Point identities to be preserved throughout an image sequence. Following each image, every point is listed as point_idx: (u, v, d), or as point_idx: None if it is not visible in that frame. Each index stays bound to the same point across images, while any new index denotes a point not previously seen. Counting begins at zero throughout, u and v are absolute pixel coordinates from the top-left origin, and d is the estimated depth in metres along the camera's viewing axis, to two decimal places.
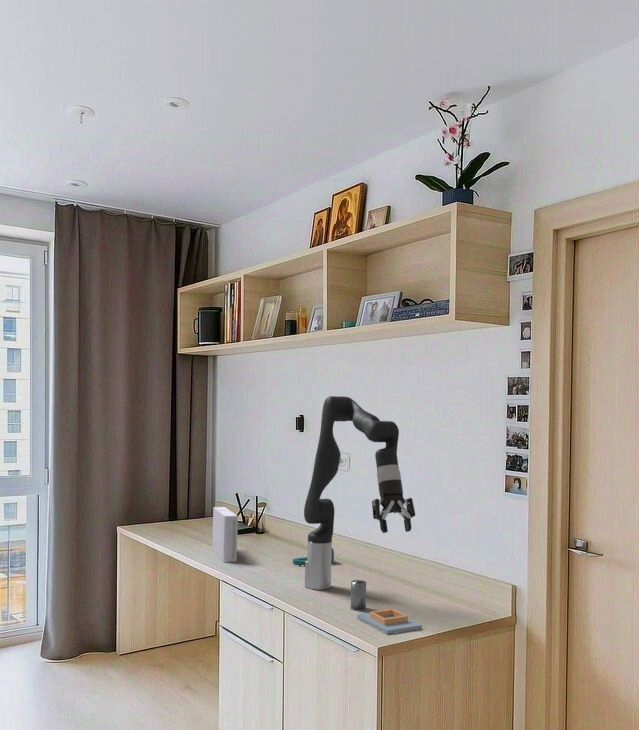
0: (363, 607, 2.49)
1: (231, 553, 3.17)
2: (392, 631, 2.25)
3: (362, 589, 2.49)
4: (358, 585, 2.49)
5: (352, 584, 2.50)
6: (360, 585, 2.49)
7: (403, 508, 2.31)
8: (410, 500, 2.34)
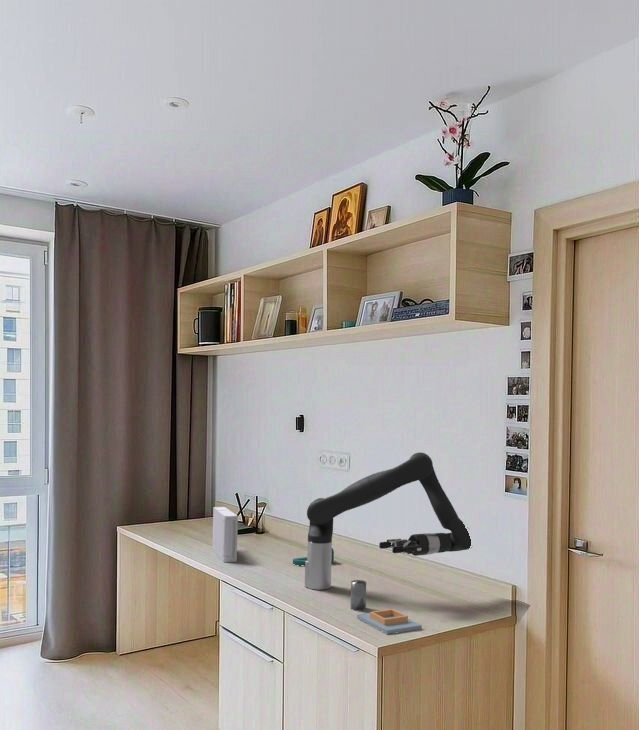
0: (363, 607, 2.49)
1: (231, 553, 3.17)
2: (392, 631, 2.25)
3: (362, 589, 2.49)
4: (358, 585, 2.49)
5: (352, 584, 2.50)
6: (360, 585, 2.49)
7: None
8: None
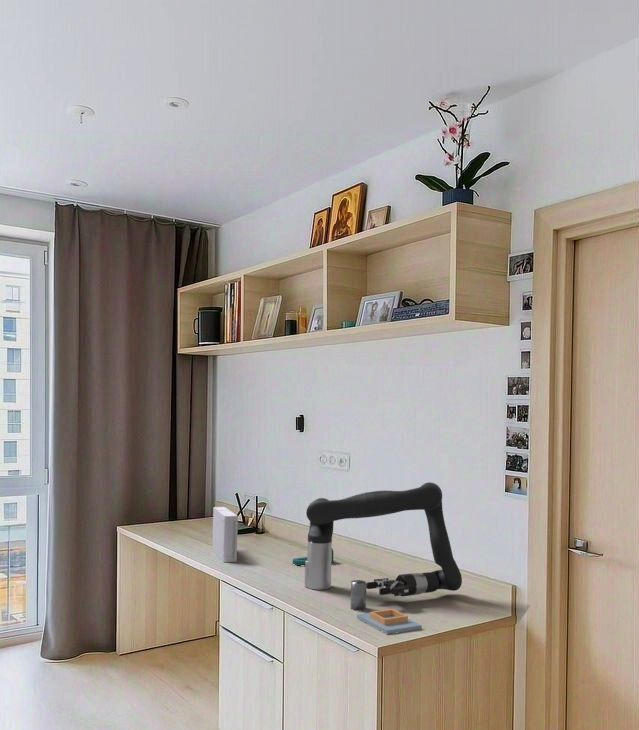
0: (363, 607, 2.49)
1: (231, 553, 3.17)
2: (392, 631, 2.25)
3: (362, 589, 2.49)
4: (358, 585, 2.49)
5: (352, 584, 2.50)
6: (360, 585, 2.49)
7: None
8: None
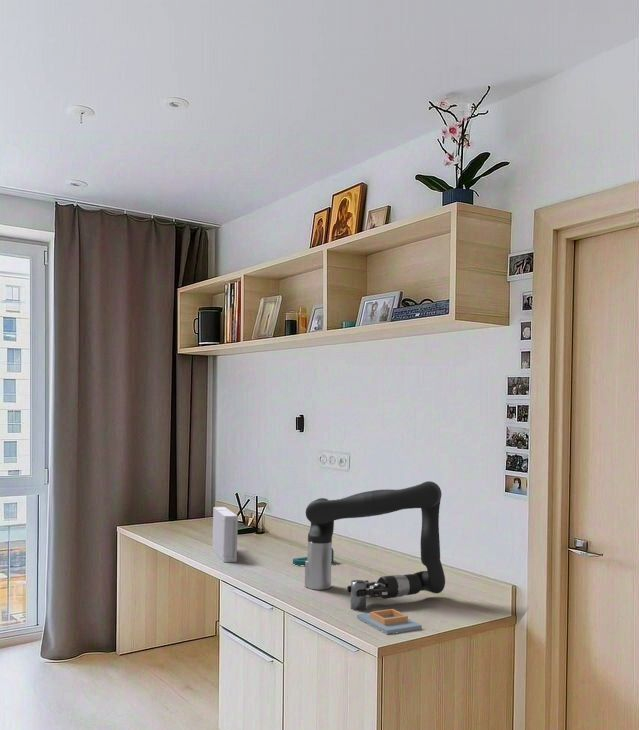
0: (363, 607, 2.49)
1: (231, 553, 3.17)
2: (392, 631, 2.25)
3: None
4: (358, 585, 2.49)
5: (352, 584, 2.50)
6: (360, 585, 2.49)
7: None
8: (366, 588, 2.59)
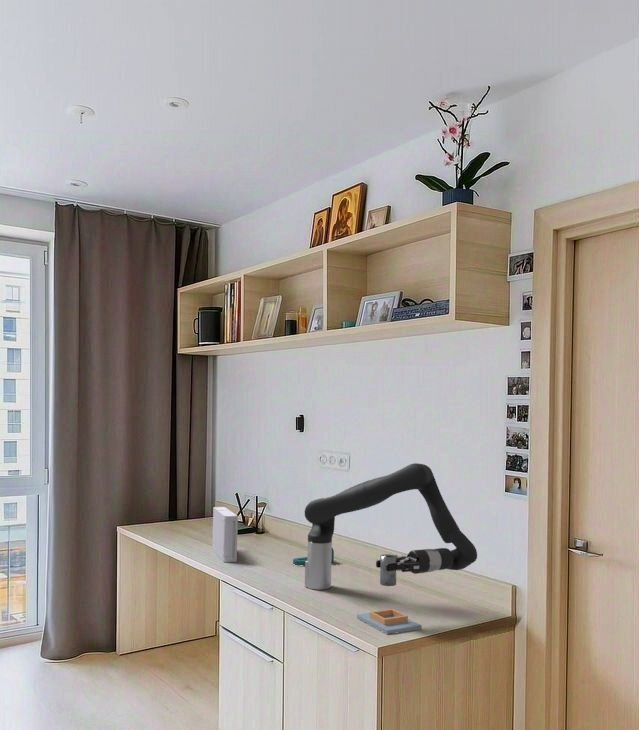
0: (394, 582, 2.35)
1: (231, 553, 3.17)
2: (392, 631, 2.25)
3: None
4: (388, 559, 2.34)
5: (381, 558, 2.36)
6: (390, 559, 2.34)
7: None
8: None
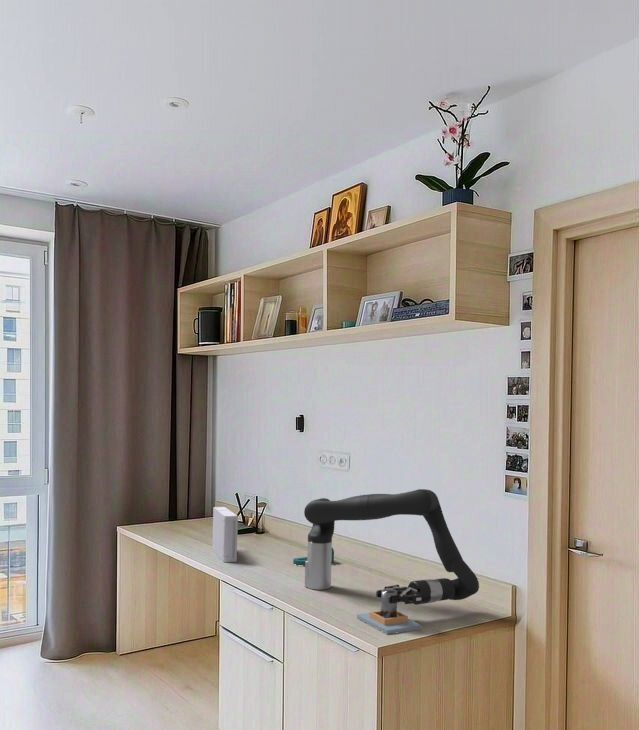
0: None
1: (231, 553, 3.17)
2: (392, 631, 2.25)
3: None
4: (389, 595, 2.32)
5: (382, 594, 2.34)
6: (391, 595, 2.32)
7: None
8: None
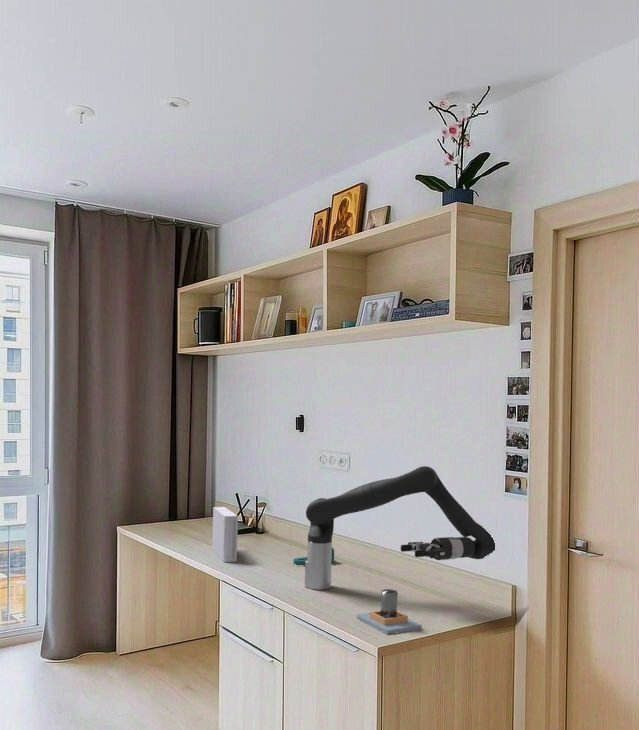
0: None
1: (231, 553, 3.17)
2: (392, 631, 2.25)
3: (393, 599, 2.33)
4: (389, 595, 2.32)
5: (382, 594, 2.34)
6: (391, 595, 2.32)
7: None
8: None
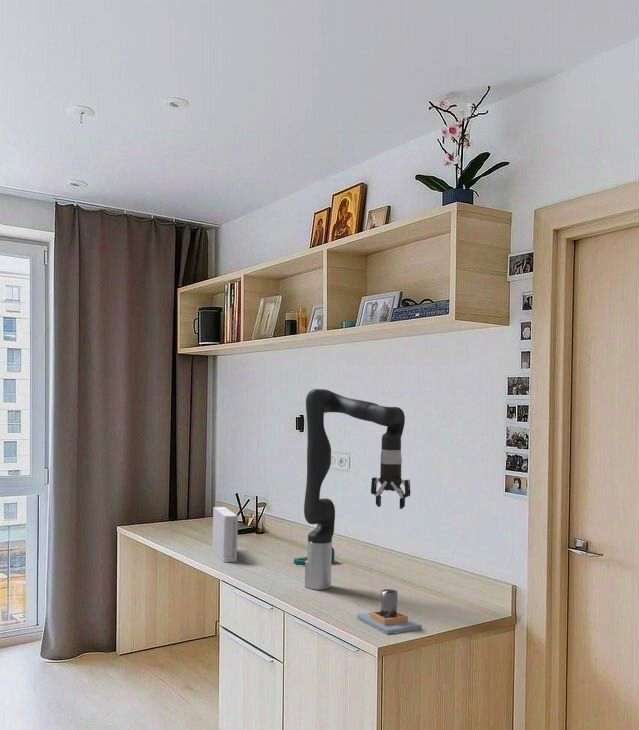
0: None
1: (231, 553, 3.17)
2: (392, 631, 2.25)
3: (393, 599, 2.33)
4: (389, 595, 2.32)
5: (382, 594, 2.34)
6: (391, 595, 2.32)
7: None
8: None
